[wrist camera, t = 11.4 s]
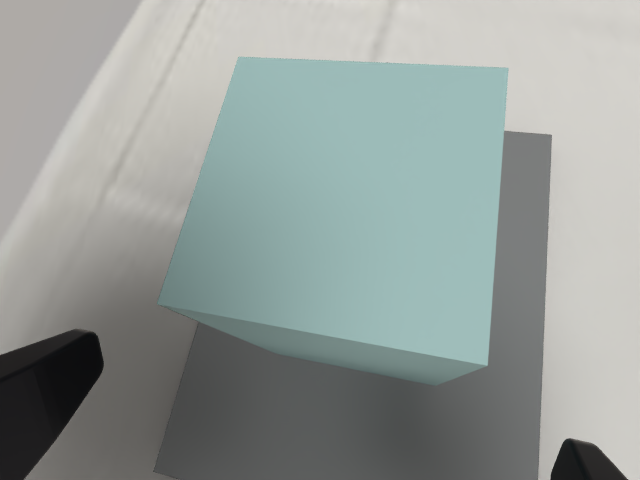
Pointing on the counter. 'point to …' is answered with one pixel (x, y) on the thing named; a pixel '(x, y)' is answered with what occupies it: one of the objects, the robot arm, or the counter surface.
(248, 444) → the mat
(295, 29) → the counter surface
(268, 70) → the pale teal box
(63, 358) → the robot arm
